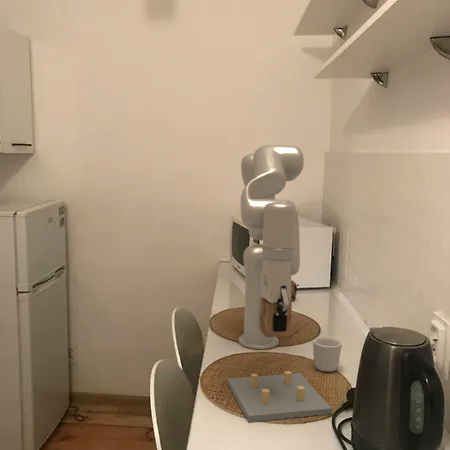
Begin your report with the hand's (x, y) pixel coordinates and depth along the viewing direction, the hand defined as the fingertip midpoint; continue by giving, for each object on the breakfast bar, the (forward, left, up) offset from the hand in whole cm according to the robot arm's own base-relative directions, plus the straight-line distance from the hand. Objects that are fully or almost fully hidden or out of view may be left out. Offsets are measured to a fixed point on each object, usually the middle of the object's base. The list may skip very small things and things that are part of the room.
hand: (275, 326), depth 129 cm
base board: (+1, +1, -18) cm, 18 cm away
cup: (-15, +22, -18) cm, 32 cm away
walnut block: (0, 0, -2) cm, 2 cm away
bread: (-81, +27, -18) cm, 87 cm away
